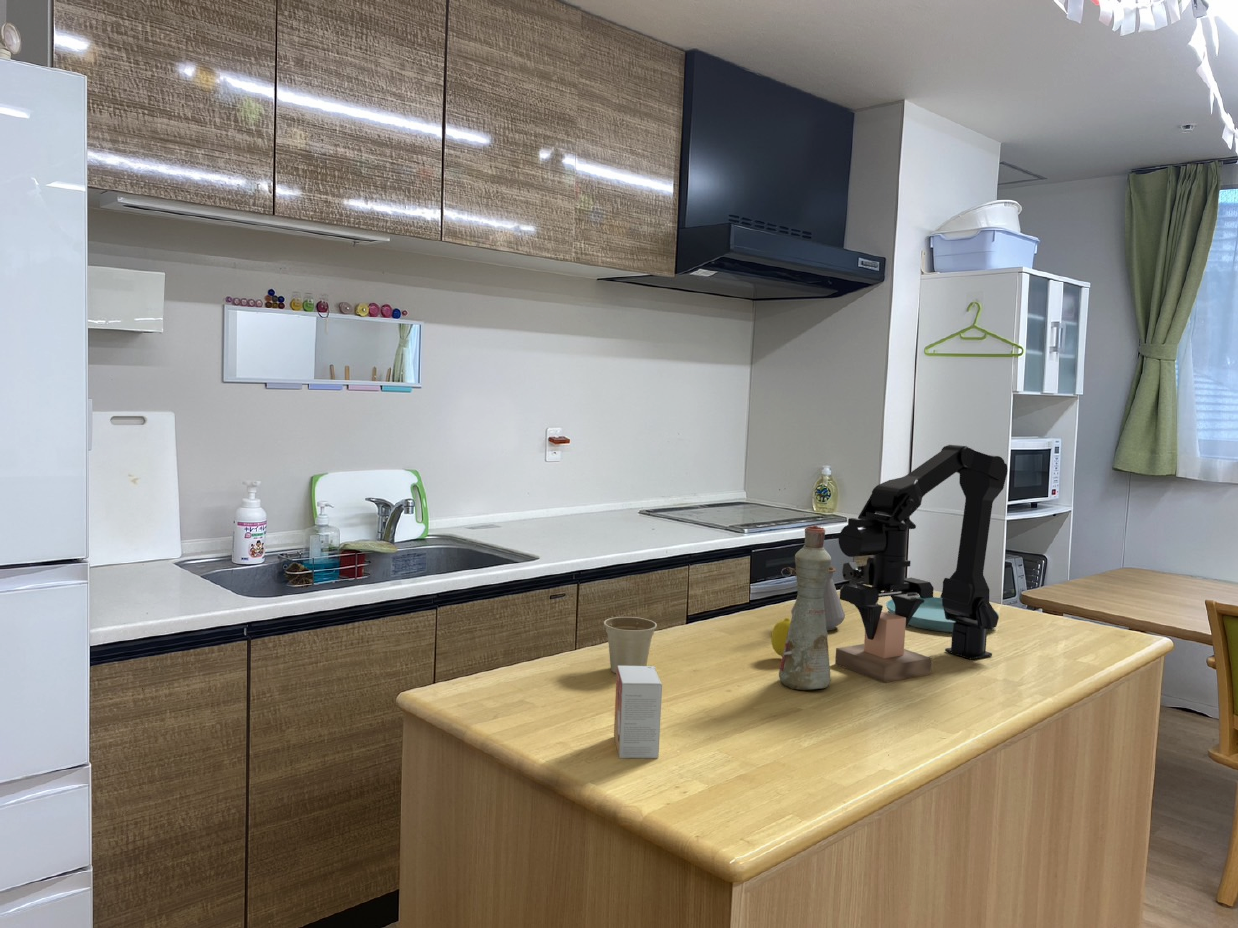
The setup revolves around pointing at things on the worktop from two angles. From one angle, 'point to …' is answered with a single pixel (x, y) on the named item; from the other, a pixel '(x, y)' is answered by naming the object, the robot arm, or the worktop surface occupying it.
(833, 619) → the coffee pot
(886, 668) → the walnut base
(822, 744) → the worktop surface
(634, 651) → the flower pot
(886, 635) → the terracotta block
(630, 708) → the small box
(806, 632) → the bottle
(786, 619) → the lemon
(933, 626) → the saucer
